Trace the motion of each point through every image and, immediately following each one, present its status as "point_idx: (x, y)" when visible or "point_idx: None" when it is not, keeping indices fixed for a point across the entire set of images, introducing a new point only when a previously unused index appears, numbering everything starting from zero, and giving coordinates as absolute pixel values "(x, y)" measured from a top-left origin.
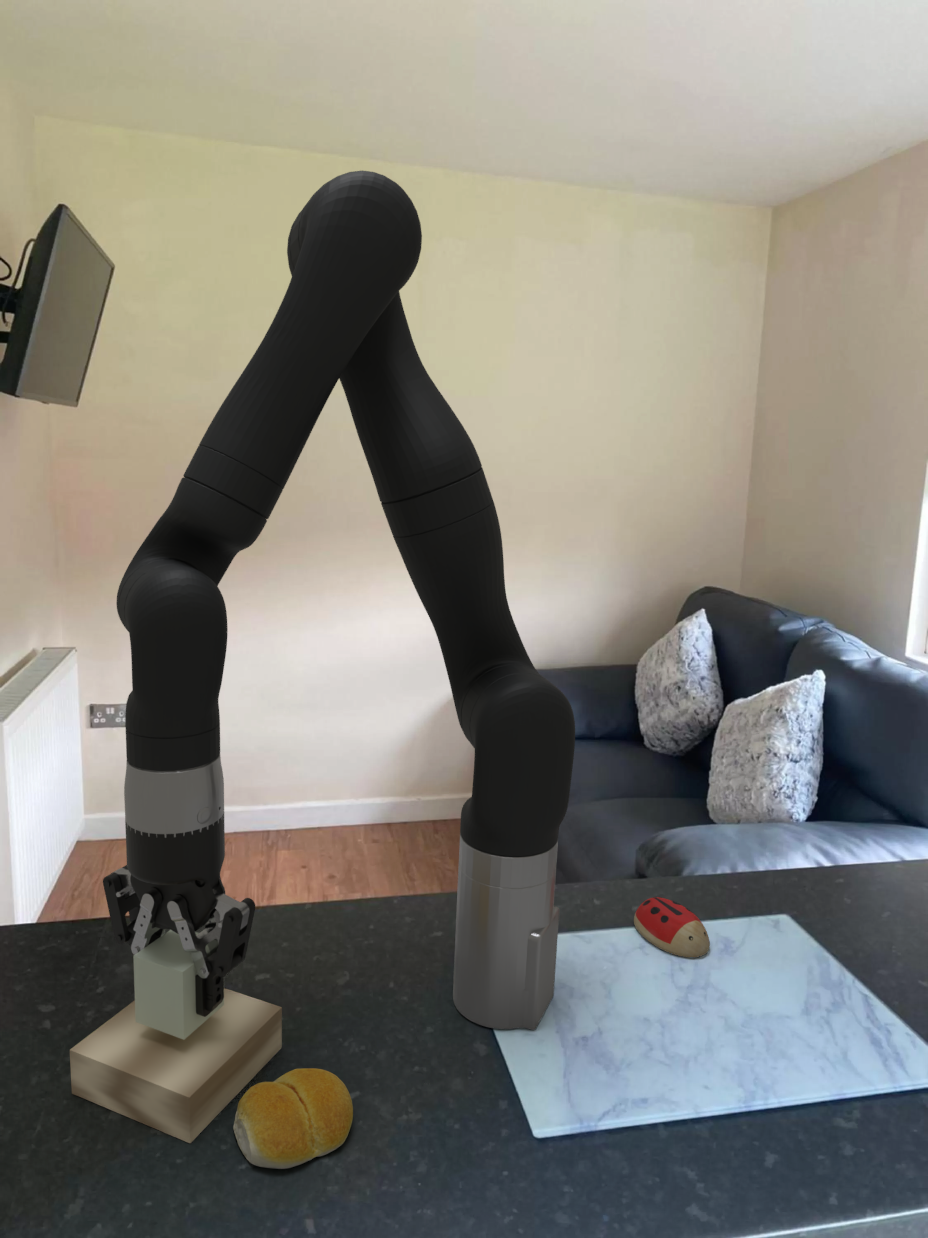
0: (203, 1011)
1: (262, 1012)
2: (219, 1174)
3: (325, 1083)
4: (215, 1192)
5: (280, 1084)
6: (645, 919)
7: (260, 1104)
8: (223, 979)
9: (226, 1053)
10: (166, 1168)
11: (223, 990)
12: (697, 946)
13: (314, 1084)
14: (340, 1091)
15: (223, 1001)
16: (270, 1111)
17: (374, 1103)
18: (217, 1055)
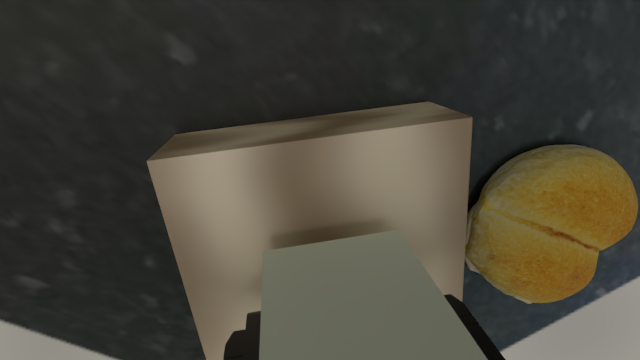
0: None
1: (445, 155)
2: (483, 305)
3: (619, 210)
4: (493, 320)
5: (544, 240)
6: None
7: (547, 294)
8: (491, 341)
9: (452, 271)
10: None
11: (472, 316)
12: None
13: (606, 224)
14: (634, 197)
15: (401, 235)
16: (565, 294)
17: (619, 118)
18: (442, 283)
